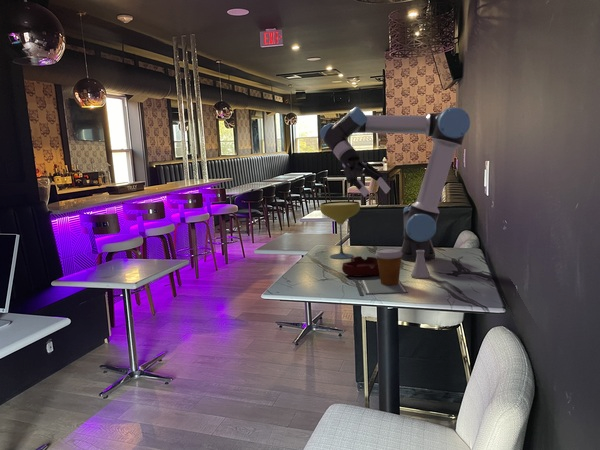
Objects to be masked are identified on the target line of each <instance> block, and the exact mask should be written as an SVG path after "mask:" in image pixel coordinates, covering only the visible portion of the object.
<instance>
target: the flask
mask: <svg viewBox="0 0 600 450" xmlns="http://www.w3.org/2000/svg"><path fill="white" fill-rule="evenodd" d="M416 252H417V258H416V261H414V262H415V263H414V265H413V268H412V272H411V274H410V277H411V278H413V279H414V278H415V279H428V278H430V277H431V273H430V271H429V268H428V265H427V263H426V262H427V261H425V259H424V252H425V251H424V250H416Z"/></svg>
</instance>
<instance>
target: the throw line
mask: <svg viewBox="0 0 600 450" xmlns="http://www.w3.org/2000/svg"><path fill="white" fill-rule="evenodd" d="M354 283H355V285H356V288H357V291H358V295H359V297H364V293H363V290H362V287H361V285H360V282H359V279H355V280H354Z"/></svg>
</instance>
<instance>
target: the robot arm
mask: <svg viewBox="0 0 600 450" xmlns="http://www.w3.org/2000/svg"><path fill="white" fill-rule="evenodd" d="M470 126H471V118H470V116H469V114H468V112H467V111H466V110H464V109H463V108H461V107H455V106H453V107H448V108H445V109H444V110H443V111H439V112H434V113H433V112H429V113H428V114H426V115H403V114H402V115H401V114H400V115H394V114H393V115H386V114H385V115H384V114H383V115H377V114H372V115H371V114H365V113H364V112H363V110H362V109H361V108H360V107H359V106H354V107H353V108H352V109H351V110H349V111H348V113H346V114H345V115H344V116H343V117H341V118H340V120H338V122H337V123H335V124H334V123H332V122H330V123H327V124H324V125H323V126H322V128H321V129H320V131H319V136H320V138H321V139H322V140H323V142H324V144H325V145H326V147H328V148H329V149H330V151H331V152H332V153H333V155H335V157H336V158H337V159H338V161H339V162H340V163H341V165H340V166H341V169H343V173H344V176H345V178H346V179H345V180H346V181H347V183H348V184H349V185H351V186H355V187H356V189H357V190H358V191H359V192H360V194H361V195H362V196H363V197H364V198H366V196H368V194H369V193H370V191H369V190H368V187H366V186H365V184H364V183H363V182H362V180H361V179H358V173H359V174H360V173H361V174H363V175H366V176H368V177H369V178H371V179H373V180H375V183H376V184H377V185H378V186H379V187H380V189H381V190H382V191H383V192H384V194H388V193H389V192H390V190H391V187H390V186H389V185H388V184H387V182H386V181H385V180H384V179H383V177H384V174H383V173H382V172H381V171H379V170H378V169H376V168H375V167H374V166H372V165H371V164H370V163H369V162H368V161H367V160H364V161H362V160H360V154H359V153H358V152H357V150H356V149H355V148H354V146H353V145H352V144H351V143H350V142H349V141H348V140H347V139H349V137H351V136H352V135H353V134H361V133H362V134H406V135H407V134H411V135H412V134H413V135H425V136H426V137H431V140H432V142H433V147H432V150H431V153H430V157H429V159H428V162H427V167H426V170H425V172H424V175H423V179H422V182H421V186H420V188H419V192H418V195H417V198H416V201H415V202H414V203H412V204H411V205H410V206H405V207H404V208H403V211H402V214H403V242H402V246H401V248H400V250H401V253H402V256H401V260H403V261H409V262H416V258H417V252H416V250H424V251H425V252H424V259H425V262H429V261H433V260H435V259H436V251H435V249H434V246H433V242H432V238H433V237H434V236H435V234H436V231H437V221H438V219H439V217H440V216H439V215H440V210H439V207H438V206H439V203H440V201H441V196H442V195H443V190H444V188H445V184H446V182H447V178H448V175H449V172H450V169H451V166H452V163H453V159H454V156H455V153H456V150H457V149H458V148H460V147H462V145H463V142H464V138H465V135H466V134H467V132H468V131H469V129H470Z"/></svg>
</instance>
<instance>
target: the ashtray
mask: <svg viewBox="0 0 600 450" xmlns="http://www.w3.org/2000/svg"><path fill="white" fill-rule="evenodd" d="M341 269H342V273H343V274H345V275H347V277H349V278H352V277H364V276H365V277H366V276H368V277H369V276H380V274H379V268H378V262H377V257H376V256H367V257H366V259H364V258H363V257H362V256H361V255H360V256H359V255H357V256H355V257H354V256H353V257H352V258H350V261H347V262H344V263H342V266H341Z"/></svg>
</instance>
